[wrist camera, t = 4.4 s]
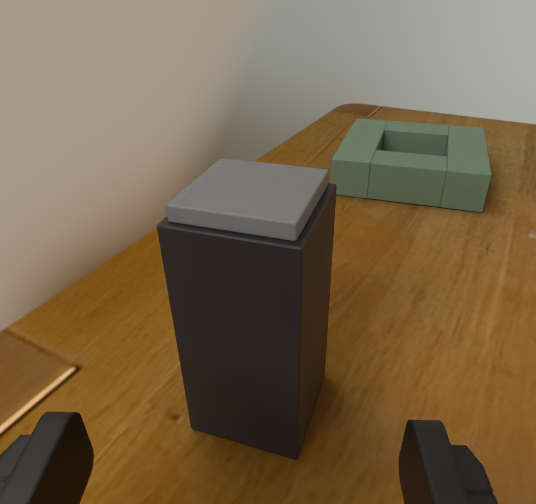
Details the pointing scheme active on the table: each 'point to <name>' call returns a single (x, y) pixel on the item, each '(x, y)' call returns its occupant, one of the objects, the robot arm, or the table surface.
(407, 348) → the table surface
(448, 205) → the frame
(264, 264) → the dark grey tall block
